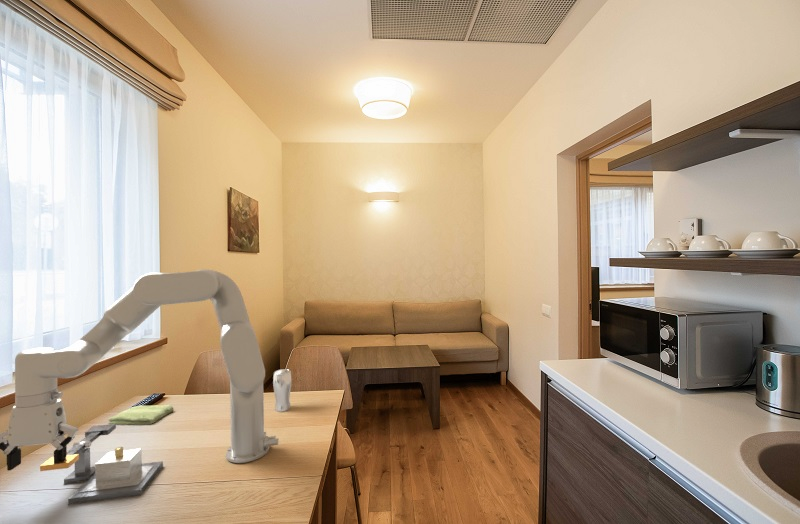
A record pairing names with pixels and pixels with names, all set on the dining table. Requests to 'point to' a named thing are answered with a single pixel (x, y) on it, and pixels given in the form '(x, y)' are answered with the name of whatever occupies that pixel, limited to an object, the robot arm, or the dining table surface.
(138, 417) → the washcloth
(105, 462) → the block
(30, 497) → the dining table surface
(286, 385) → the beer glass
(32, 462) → the dining table surface
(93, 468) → the press bed
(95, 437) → the press lever
